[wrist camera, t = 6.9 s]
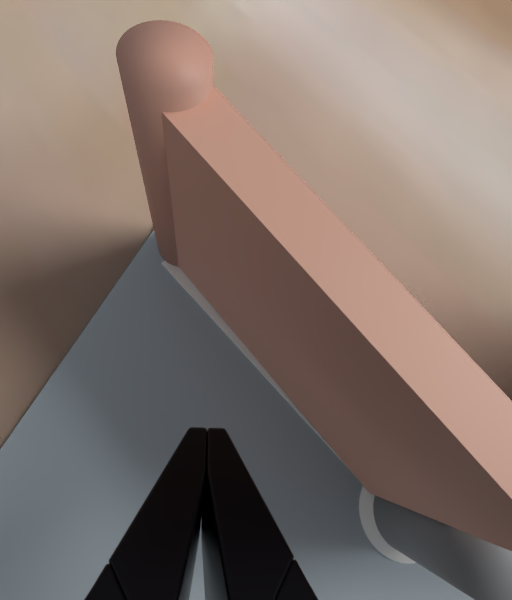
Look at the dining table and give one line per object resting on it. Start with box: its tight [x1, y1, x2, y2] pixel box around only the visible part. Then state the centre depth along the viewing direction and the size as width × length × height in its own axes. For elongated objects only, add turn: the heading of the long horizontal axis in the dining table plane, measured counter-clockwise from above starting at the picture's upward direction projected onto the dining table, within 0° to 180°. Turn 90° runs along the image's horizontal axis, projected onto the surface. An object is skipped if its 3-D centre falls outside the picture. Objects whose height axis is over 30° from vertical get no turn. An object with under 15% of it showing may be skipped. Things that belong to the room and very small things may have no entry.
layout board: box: [0, 230, 512, 600], centre depth 14 cm, size 15×25×1 cm, turn 63°
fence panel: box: [116, 20, 512, 600], centre depth 11 cm, size 16×3×9 cm, turn 41°
